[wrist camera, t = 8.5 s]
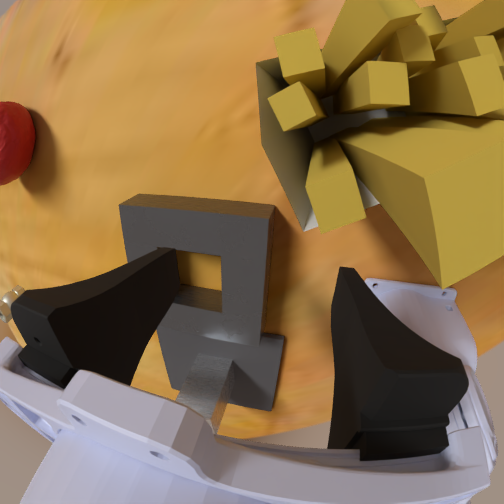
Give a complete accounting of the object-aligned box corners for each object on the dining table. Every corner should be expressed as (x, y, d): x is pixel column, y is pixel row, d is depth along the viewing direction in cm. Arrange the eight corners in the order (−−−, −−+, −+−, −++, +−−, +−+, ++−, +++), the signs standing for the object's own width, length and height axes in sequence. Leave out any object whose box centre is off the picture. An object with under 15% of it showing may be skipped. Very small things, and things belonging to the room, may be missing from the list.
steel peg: (232, 359, 30) (210, 419, 23) (234, 381, 31) (215, 437, 24) (198, 353, 30) (171, 409, 23) (203, 375, 32) (179, 427, 25)
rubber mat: (284, 335, 27) (283, 340, 27) (271, 407, 34) (271, 411, 33) (155, 310, 30) (153, 313, 29) (173, 385, 36) (171, 388, 36)
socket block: (275, 205, 21) (268, 218, 19) (265, 325, 27) (259, 347, 24) (138, 193, 23) (118, 204, 21) (154, 303, 29) (140, 320, 26)
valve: (13, 287, 38) (48, 339, 42) (-10, 307, 32) (29, 361, 36) (22, 279, 35) (61, 336, 39) (-4, 300, 30) (39, 360, 34)
